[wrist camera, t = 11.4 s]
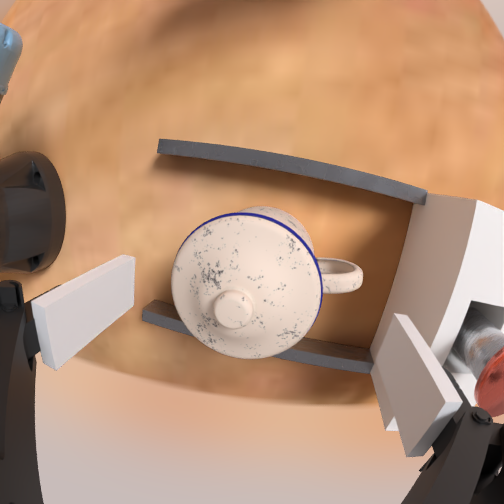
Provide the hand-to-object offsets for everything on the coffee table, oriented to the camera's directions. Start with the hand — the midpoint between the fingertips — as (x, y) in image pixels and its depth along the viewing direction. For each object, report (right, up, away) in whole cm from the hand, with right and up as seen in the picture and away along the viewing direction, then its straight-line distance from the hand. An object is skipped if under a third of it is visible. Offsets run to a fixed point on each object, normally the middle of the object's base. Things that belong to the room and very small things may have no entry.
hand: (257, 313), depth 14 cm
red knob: (+14, -2, +2) cm, 14 cm away
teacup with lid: (+2, +3, +12) cm, 12 cm away
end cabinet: (+16, 0, +10) cm, 18 cm away
